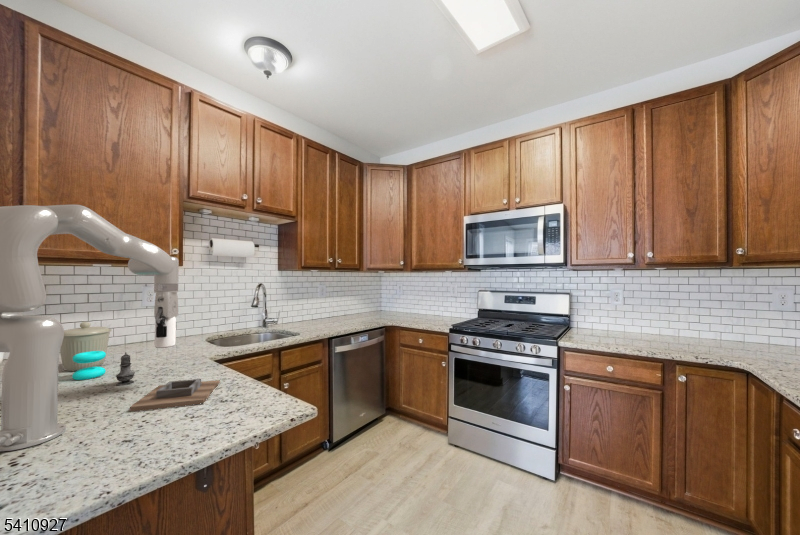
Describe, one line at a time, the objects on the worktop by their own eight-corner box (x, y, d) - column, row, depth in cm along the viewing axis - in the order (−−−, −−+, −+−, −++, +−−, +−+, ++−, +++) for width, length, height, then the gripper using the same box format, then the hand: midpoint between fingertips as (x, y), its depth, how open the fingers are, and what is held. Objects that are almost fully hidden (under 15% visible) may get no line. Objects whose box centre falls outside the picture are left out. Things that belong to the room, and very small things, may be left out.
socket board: (203, 404, 103) (203, 391, 103) (129, 411, 98) (129, 398, 98) (219, 384, 122) (219, 373, 123) (159, 389, 117) (159, 378, 117)
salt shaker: (123, 386, 121) (123, 354, 121) (111, 385, 122) (111, 353, 122) (139, 381, 126) (139, 350, 127) (127, 380, 128) (127, 350, 128)
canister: (71, 364, 151) (71, 320, 151) (118, 360, 157) (119, 318, 158) (44, 376, 134) (45, 325, 135) (99, 371, 140) (99, 323, 141)
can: (150, 347, 120) (151, 315, 120) (169, 344, 126) (170, 313, 126) (160, 348, 117) (161, 316, 118) (179, 345, 123) (179, 314, 123)
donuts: (103, 353, 131) (69, 357, 126) (102, 378, 131) (68, 382, 125) (108, 349, 140) (76, 352, 134) (108, 372, 139) (76, 376, 134)
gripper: (168, 289, 115) (167, 339, 114) (185, 287, 132) (184, 331, 131) (144, 289, 113) (142, 340, 112) (164, 288, 129) (163, 332, 129)
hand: (165, 335), depth 122 cm, fingers closed on can, 6 cm apart
